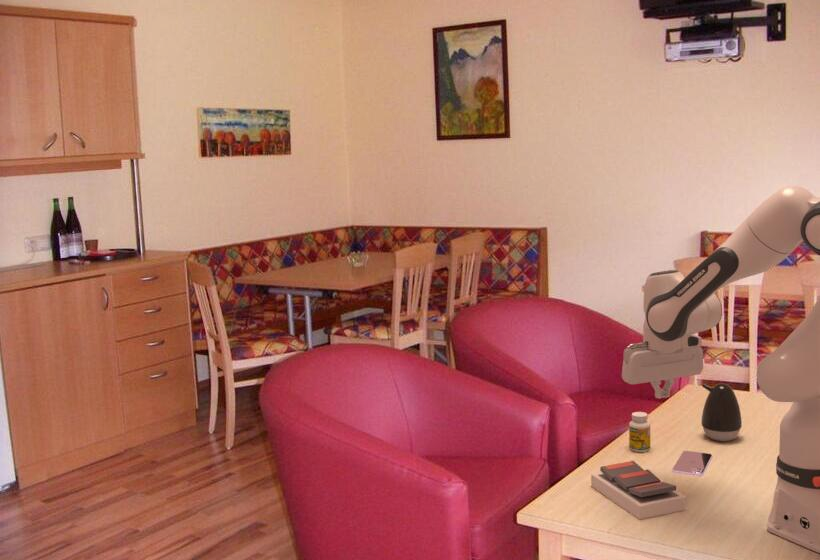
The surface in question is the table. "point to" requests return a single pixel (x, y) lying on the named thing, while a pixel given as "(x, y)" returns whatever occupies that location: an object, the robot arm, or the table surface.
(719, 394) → the pump dispenser
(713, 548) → the table surface
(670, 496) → the rocker switch panel
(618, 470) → the block
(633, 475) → the rocker
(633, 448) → the supplement bottle
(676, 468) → the mobile phone
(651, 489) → the rocker
